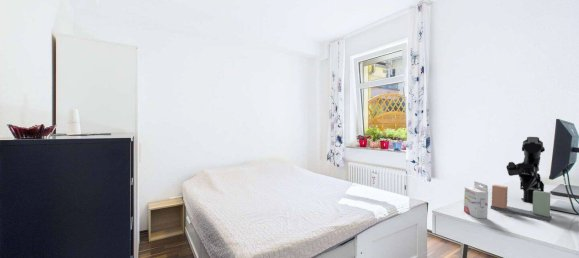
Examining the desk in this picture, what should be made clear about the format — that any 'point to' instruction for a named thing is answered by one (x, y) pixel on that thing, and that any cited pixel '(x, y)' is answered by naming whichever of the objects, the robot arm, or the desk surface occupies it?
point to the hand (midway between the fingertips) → (524, 190)
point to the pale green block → (541, 203)
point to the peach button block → (499, 196)
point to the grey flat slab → (523, 213)
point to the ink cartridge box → (476, 200)
